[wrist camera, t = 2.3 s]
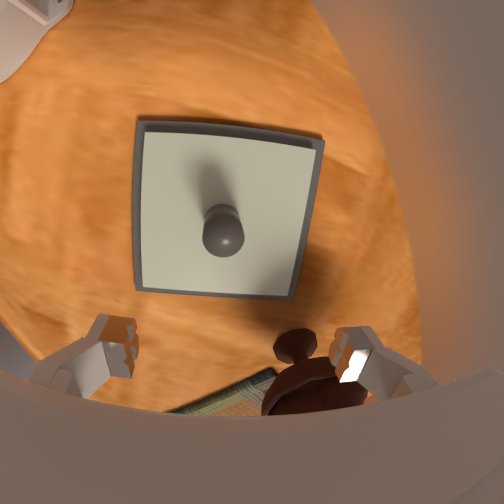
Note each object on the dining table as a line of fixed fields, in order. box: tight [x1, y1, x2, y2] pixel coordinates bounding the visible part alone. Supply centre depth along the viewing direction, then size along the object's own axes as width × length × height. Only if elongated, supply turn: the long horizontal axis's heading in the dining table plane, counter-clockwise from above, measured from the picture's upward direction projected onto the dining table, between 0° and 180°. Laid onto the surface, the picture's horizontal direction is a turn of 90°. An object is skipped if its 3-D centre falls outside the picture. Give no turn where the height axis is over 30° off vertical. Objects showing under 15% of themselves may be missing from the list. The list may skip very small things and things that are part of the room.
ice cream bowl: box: [261, 329, 368, 416], centre depth 25 cm, size 11×11×15 cm
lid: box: [141, 132, 316, 296], centre depth 22 cm, size 14×14×5 cm
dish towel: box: [173, 368, 277, 416], centre depth 37 cm, size 17×23×2 cm
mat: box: [132, 121, 325, 300], centre depth 24 cm, size 16×16×1 cm
